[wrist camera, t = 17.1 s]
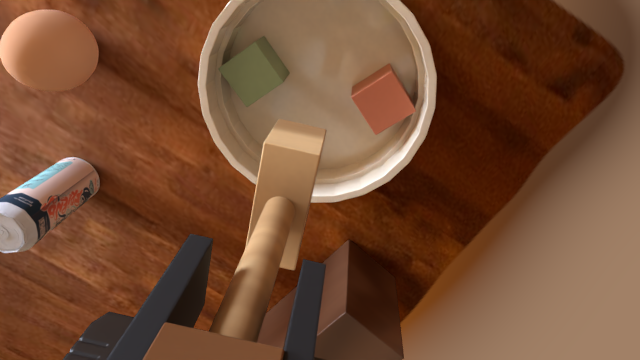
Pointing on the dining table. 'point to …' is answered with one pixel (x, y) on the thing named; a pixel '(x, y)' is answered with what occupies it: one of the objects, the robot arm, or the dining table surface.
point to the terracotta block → (382, 99)
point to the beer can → (45, 203)
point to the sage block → (254, 71)
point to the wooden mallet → (257, 253)
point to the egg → (49, 50)
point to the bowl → (321, 86)
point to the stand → (348, 311)
